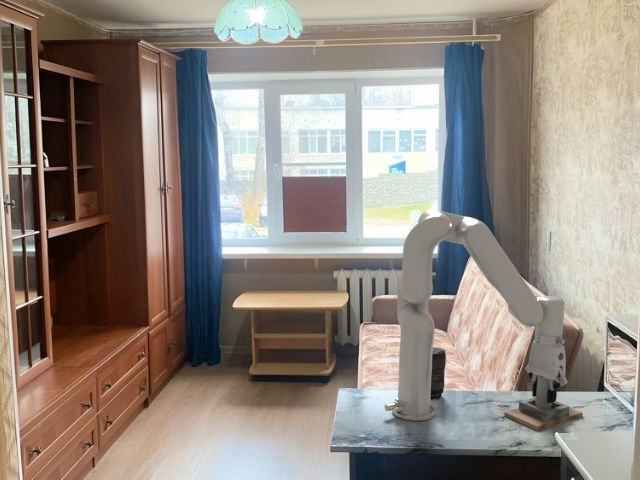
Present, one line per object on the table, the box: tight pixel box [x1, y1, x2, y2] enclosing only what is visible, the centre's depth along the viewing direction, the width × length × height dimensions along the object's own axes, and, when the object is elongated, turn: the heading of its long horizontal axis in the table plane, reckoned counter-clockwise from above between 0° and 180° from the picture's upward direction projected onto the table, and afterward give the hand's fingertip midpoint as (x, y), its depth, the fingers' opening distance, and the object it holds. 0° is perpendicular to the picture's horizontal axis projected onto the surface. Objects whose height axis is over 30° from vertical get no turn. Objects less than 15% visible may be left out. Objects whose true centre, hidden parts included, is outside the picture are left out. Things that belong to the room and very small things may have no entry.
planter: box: [535, 375, 554, 410], centre depth 199 cm, size 4×4×10 cm
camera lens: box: [430, 346, 447, 401], centre depth 214 cm, size 8×8×15 cm
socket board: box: [503, 397, 584, 431], centre depth 200 cm, size 20×12×4 cm, turn 122°
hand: (543, 398), depth 200 cm, fingers open, 4 cm apart
